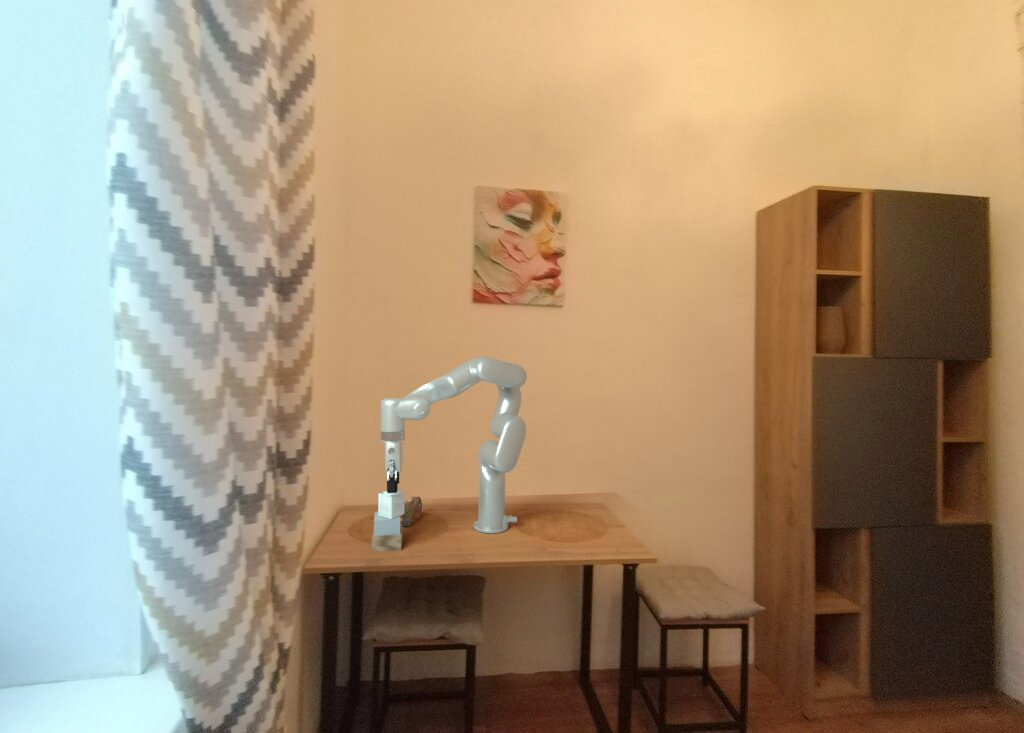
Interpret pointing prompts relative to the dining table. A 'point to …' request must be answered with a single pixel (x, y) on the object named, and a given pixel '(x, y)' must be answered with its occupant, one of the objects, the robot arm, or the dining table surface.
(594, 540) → the dining table surface
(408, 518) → the tin
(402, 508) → the skincare box
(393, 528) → the tower top
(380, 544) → the block
